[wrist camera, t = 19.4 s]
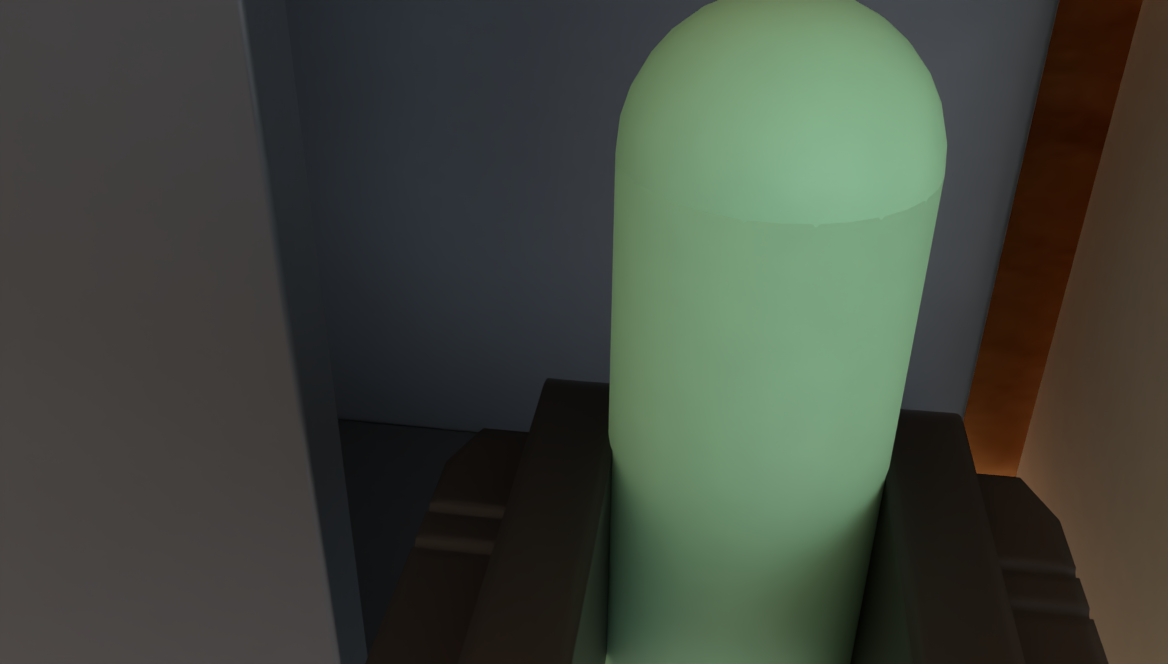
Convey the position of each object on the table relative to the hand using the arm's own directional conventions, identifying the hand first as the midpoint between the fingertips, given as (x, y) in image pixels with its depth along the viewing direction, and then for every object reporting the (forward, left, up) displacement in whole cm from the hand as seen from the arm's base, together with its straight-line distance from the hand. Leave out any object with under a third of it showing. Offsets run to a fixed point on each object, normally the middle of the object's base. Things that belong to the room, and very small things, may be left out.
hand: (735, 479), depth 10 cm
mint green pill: (0, 0, 0) cm, 0 cm away
